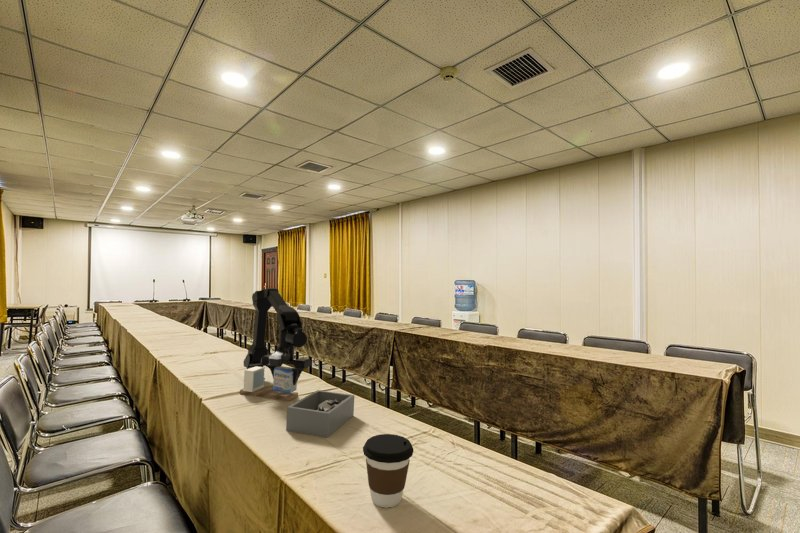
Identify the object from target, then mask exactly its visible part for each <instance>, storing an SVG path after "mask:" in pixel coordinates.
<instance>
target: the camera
mask: <svg viewBox="0 0 800 533" xmlns="http://www.w3.org/2000/svg"><path fill="white" fill-rule="evenodd" d="M341 402H342V400H341V399H337V400H336V399H335V400H334V402H333V401H332V400H329V401H328V400H326V401H324V402H322V403H321V404H319V406H318V408H315V409H313V410H318V411H324V412H328V411H329V410H331V409H332V408H334V407H335V406H336V405H338V404H339V403H341Z"/></svg>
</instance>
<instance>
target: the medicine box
mask: <svg viewBox="0 0 800 533" xmlns="http://www.w3.org/2000/svg"><path fill="white" fill-rule="evenodd" d="M293 368H294V367H292V366H283V365H282V366H280V367H276V368H274V379H273V382H272V383H273V384H272V389H273V390H274V391H280V392H287V393H291V392H296V391H297V387H298V382H297V383H296V385H293V375H294V372H293V370H292V369H293Z"/></svg>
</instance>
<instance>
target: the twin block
mask: <svg viewBox="0 0 800 533" xmlns="http://www.w3.org/2000/svg"><path fill="white" fill-rule="evenodd" d="M265 368H266V366H263V367H258V366H255V367H252V368H249V369H247V368H246V369H244V372H243V373H244V375H243V388H244V390H243V391H248V392H254V391H256V390H258V389H261V388H265V386H264V384H265V379H264V378H265Z"/></svg>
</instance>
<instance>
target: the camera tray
mask: <svg viewBox="0 0 800 533" xmlns="http://www.w3.org/2000/svg"><path fill="white" fill-rule="evenodd" d="M335 399H336V400H337V399H341V400H342V402H341V403H339V404H338V405H336V406H335V407H334V408H332V409H331V410H329V411H328V412H324V411H318V410H313V409H315V408H318V406H319V404H321V403H322V402H324V401H326V400H328V401H329V400H332V401H333V402H334V400H335ZM354 412H355V394H349V393H342V392H335V391H334V392H333V391H327V390H321V389H320V390H319V389H317V390H316V391H314V392H312V393H310V394H309V395H306V396H304V397H302V398H301V399H299V400H297V401H296V402H294V403H292V404H291V405H289V406H287V407H286V424H285V430H286V431H287V432H293V433H294V432H295V433H299V434H305V435H311V436H316V437H320V438H321V437H322V438H329V437H331V435H333V434H334V433H335V432H336V431H338V430H339V428H341V427H342V426H343V425H345V424H346V423H347V422H348V421H349V420H350V419H352V418H353V417H354V416H353V415H355V414H354ZM352 416H353V417H352Z"/></svg>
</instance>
